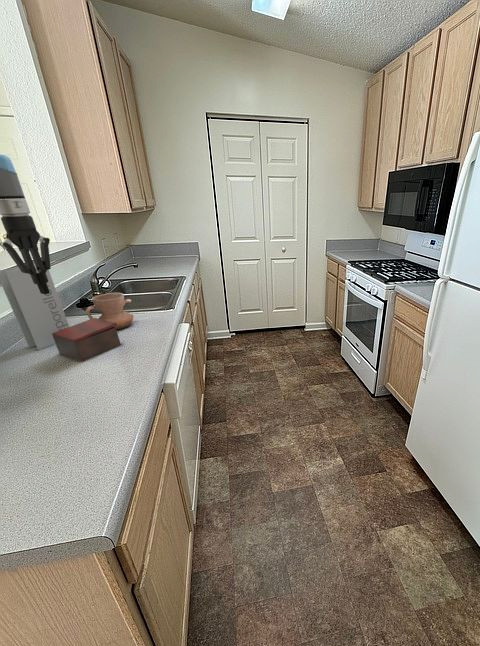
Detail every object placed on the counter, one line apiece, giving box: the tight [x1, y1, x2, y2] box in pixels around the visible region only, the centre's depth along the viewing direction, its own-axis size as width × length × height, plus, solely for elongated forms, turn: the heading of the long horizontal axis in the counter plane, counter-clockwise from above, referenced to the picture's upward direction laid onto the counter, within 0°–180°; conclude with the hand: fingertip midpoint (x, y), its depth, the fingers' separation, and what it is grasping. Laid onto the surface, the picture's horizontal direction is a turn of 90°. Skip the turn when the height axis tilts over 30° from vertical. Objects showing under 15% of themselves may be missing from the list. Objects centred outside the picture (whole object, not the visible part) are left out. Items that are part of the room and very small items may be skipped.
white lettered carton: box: [0, 263, 70, 351], centre depth 127 cm, size 14×6×30 cm, turn 159°
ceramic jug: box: [85, 292, 134, 331], centre depth 145 cm, size 18×14×14 cm
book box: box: [53, 327, 122, 362], centre depth 125 cm, size 16×14×8 cm
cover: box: [52, 317, 117, 342], centre depth 123 cm, size 16×14×1 cm
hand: (45, 293), depth 109 cm, fingers closed
